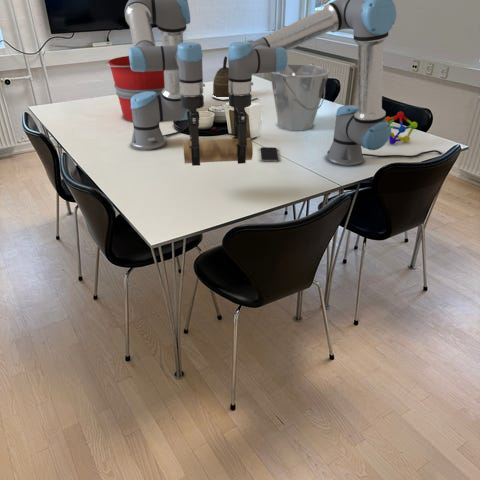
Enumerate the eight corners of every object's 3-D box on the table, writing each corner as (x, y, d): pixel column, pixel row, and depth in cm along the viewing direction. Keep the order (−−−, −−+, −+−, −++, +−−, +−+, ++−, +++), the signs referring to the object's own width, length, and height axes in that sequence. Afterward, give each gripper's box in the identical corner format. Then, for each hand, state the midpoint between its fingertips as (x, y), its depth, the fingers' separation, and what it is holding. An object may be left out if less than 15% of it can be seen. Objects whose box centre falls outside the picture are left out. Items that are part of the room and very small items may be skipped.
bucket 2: (296, 138, 215) (301, 78, 201) (255, 124, 234) (256, 68, 219) (335, 125, 232) (342, 70, 217) (294, 113, 251) (297, 61, 236)
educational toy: (377, 146, 209) (379, 114, 202) (384, 138, 219) (386, 107, 211) (411, 149, 202) (415, 116, 195) (417, 141, 212) (420, 109, 204)
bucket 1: (122, 106, 262) (115, 52, 246) (181, 107, 261) (178, 52, 245) (105, 124, 232) (96, 64, 216) (172, 125, 231) (167, 64, 216)
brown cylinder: (184, 166, 153) (183, 145, 149) (184, 158, 159) (182, 137, 155) (252, 163, 156) (252, 142, 152) (249, 155, 162) (249, 134, 158)
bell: (227, 105, 294) (202, 96, 282) (238, 66, 289) (213, 55, 277) (243, 108, 280) (217, 98, 268) (255, 66, 275) (229, 55, 263)
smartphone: (261, 159, 190) (260, 147, 203) (261, 161, 190) (260, 148, 203) (278, 159, 190) (276, 147, 202) (278, 161, 190) (276, 148, 203)
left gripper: (205, 102, 136) (208, 171, 148) (201, 86, 153) (203, 149, 165) (181, 103, 135) (185, 172, 147) (179, 87, 152) (183, 150, 164)
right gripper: (256, 101, 138) (255, 169, 150) (246, 85, 155) (245, 147, 167) (232, 101, 137) (233, 170, 149) (225, 86, 154) (226, 148, 166)
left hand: (195, 160), depth 156 cm, fingers closed on brown cylinder, 8 cm apart
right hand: (239, 158), depth 158 cm, fingers closed on brown cylinder, 8 cm apart
